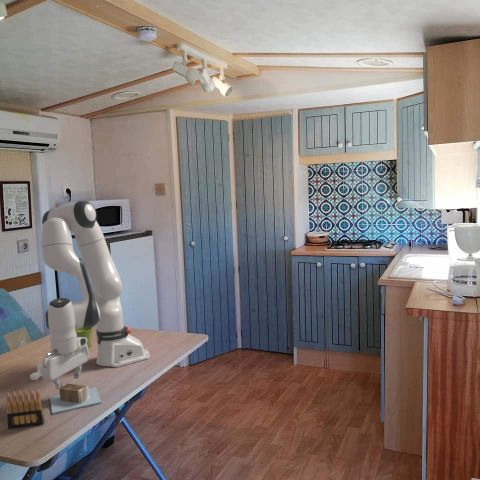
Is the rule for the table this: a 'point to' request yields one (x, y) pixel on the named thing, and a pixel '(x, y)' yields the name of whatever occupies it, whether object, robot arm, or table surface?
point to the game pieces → (39, 373)
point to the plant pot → (85, 334)
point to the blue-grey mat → (65, 406)
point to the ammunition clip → (21, 416)
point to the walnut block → (74, 393)
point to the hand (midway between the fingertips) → (68, 383)
